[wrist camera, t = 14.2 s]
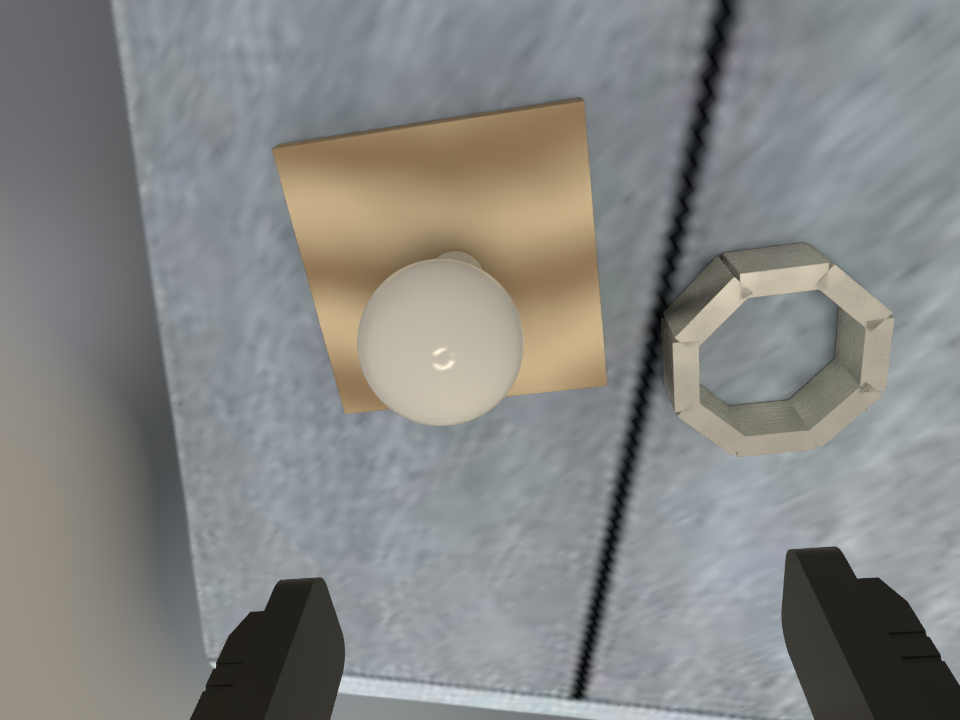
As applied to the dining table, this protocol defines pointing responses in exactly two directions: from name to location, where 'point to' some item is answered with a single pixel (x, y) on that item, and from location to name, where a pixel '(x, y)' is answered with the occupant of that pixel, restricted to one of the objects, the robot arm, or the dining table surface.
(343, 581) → the dining table surface
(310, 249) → the oak board
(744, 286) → the collar
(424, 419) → the lightbulb
